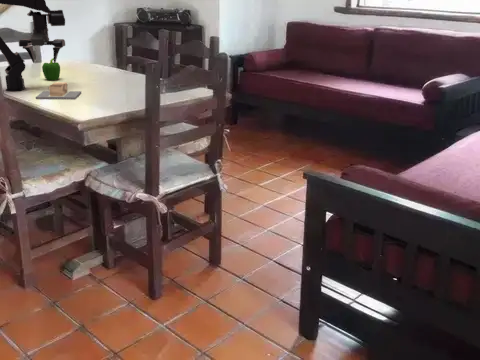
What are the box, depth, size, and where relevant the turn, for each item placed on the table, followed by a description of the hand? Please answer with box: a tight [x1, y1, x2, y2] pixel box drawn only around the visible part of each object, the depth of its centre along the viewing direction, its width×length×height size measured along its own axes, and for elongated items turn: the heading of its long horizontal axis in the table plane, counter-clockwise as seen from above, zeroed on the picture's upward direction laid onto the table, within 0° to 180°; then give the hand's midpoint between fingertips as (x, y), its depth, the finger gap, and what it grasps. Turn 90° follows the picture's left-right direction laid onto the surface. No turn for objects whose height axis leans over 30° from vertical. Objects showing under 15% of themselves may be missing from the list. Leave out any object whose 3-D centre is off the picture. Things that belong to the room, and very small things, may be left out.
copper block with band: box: [48, 81, 68, 96], centre depth 230 cm, size 9×5×4 cm, turn 3°
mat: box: [35, 90, 82, 100], centre depth 231 cm, size 16×12×1 cm
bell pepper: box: [41, 57, 61, 81], centre depth 262 cm, size 8×8×10 cm
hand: (44, 62), depth 243 cm, fingers open, 9 cm apart
